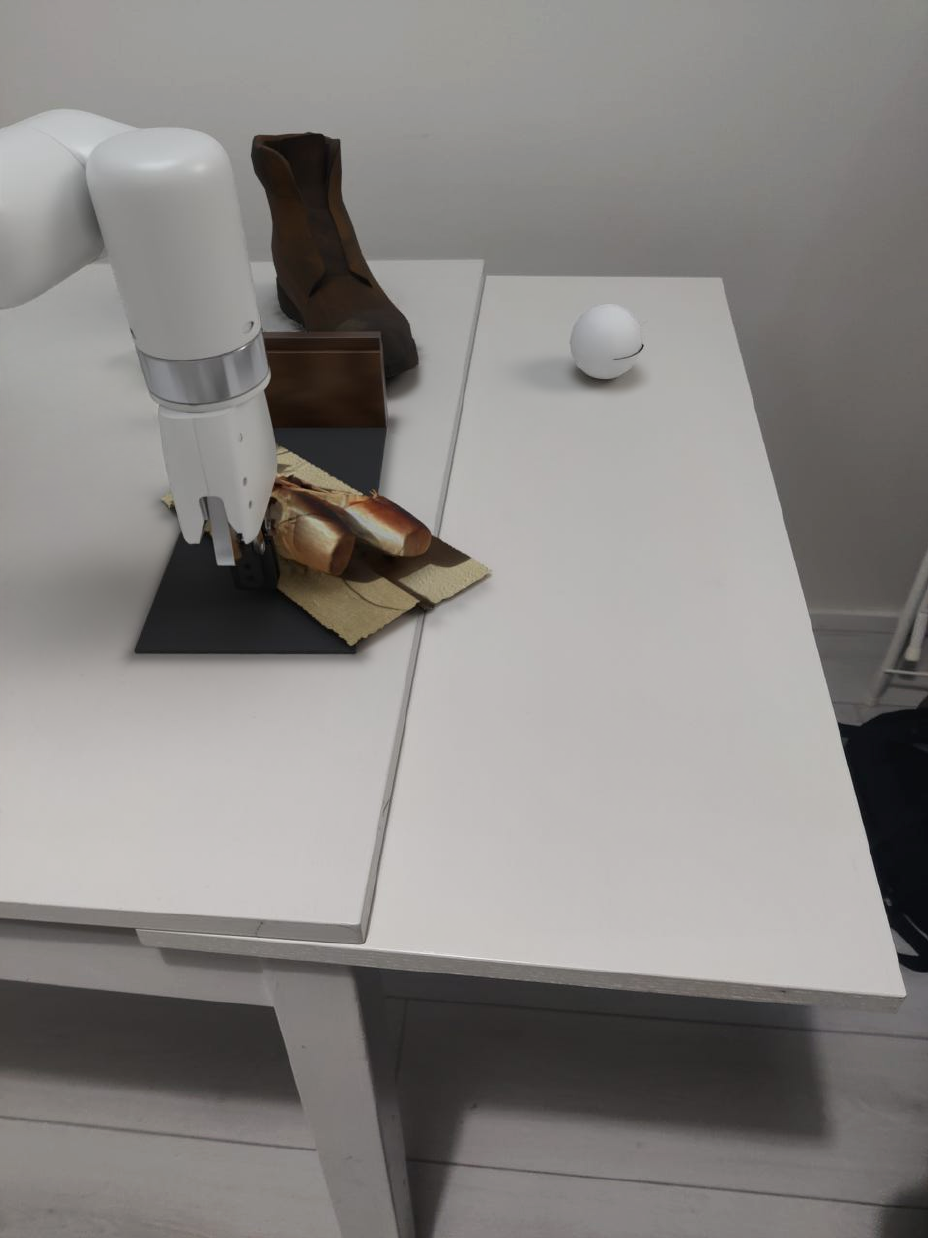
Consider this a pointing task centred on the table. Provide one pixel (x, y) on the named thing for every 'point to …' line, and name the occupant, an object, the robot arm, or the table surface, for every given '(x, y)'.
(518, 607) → the table surface
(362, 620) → the ballet pointe shoes
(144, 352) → the robot arm
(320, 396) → the brown wooden panel
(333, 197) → the boot
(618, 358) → the white ovoid
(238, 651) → the black display mat
